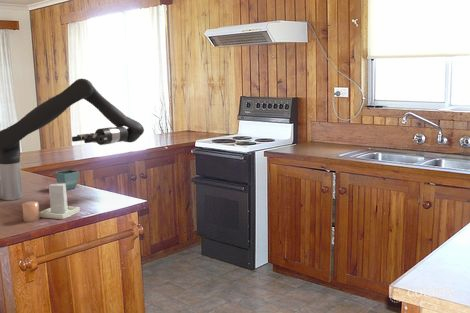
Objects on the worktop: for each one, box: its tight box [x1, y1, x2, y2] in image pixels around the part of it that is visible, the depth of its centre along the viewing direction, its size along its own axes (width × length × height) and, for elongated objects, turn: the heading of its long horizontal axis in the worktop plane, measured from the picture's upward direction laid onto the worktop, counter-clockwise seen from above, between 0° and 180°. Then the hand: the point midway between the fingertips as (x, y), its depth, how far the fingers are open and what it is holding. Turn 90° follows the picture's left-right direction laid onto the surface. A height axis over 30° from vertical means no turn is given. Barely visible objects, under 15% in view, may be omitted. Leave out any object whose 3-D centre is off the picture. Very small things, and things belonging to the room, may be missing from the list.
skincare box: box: [48, 183, 68, 213], centre depth 211 cm, size 6×4×12 cm
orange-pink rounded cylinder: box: [22, 200, 41, 223], centre depth 204 cm, size 6×6×7 cm
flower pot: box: [54, 169, 80, 191], centre depth 257 cm, size 9×9×9 cm
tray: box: [39, 205, 81, 220], centre depth 212 cm, size 12×12×2 cm
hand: (78, 139), depth 219 cm, fingers open, 8 cm apart
